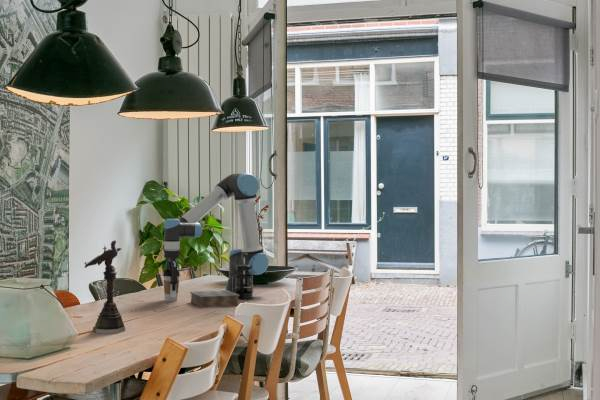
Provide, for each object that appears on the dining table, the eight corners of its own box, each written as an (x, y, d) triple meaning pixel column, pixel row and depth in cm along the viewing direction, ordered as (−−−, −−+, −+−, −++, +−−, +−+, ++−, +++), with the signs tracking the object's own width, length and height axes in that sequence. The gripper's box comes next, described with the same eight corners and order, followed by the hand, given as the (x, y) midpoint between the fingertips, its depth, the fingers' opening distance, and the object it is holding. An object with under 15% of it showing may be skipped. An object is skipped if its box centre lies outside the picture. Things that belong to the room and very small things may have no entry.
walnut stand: (227, 300, 361) (227, 290, 361) (239, 305, 344) (239, 295, 344) (189, 301, 354) (190, 291, 354) (200, 307, 336) (201, 296, 336)
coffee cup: (181, 299, 361) (182, 269, 361) (177, 302, 353) (177, 271, 353) (165, 299, 362) (165, 269, 362) (160, 301, 354) (160, 270, 354)
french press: (255, 297, 372) (256, 253, 372) (252, 300, 363) (252, 254, 363) (233, 296, 374) (234, 252, 374) (229, 299, 365) (229, 253, 365)
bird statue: (73, 332, 270) (74, 239, 270) (90, 326, 283) (92, 237, 283) (114, 335, 267) (115, 240, 266) (130, 329, 279) (131, 238, 279)
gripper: (159, 248, 365) (158, 293, 365) (169, 251, 346) (168, 299, 347) (174, 248, 368) (173, 293, 368) (184, 251, 350) (183, 298, 350)
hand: (171, 296), depth 357 cm, fingers closed on coffee cup, 8 cm apart
